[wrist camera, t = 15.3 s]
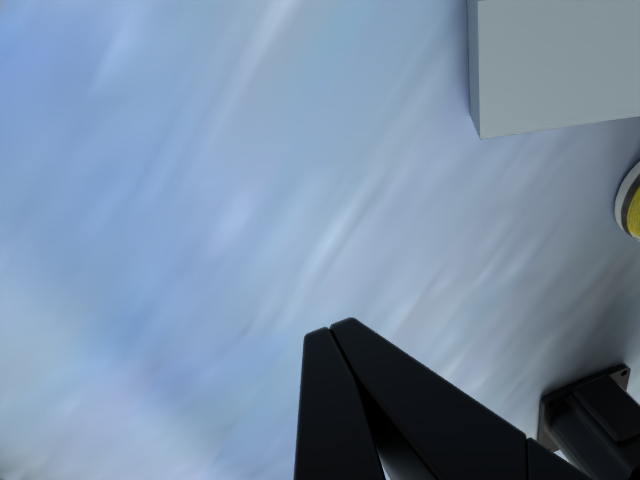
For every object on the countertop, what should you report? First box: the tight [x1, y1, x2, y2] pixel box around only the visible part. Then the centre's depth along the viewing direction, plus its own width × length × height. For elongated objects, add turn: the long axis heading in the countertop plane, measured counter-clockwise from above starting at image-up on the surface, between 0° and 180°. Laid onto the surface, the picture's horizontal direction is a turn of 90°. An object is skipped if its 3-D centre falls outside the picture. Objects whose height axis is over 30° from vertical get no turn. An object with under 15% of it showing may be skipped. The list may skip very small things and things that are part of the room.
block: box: [467, 0, 640, 139], centre depth 19 cm, size 5×2×8 cm
